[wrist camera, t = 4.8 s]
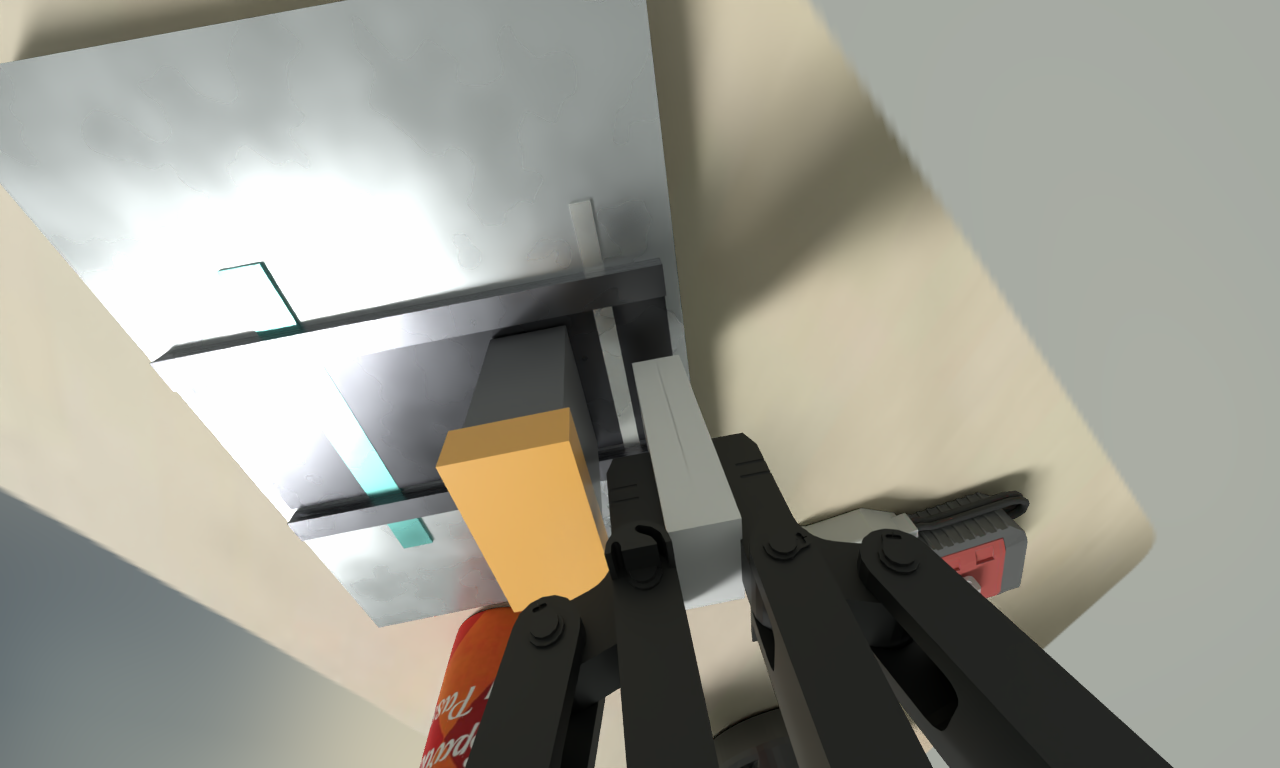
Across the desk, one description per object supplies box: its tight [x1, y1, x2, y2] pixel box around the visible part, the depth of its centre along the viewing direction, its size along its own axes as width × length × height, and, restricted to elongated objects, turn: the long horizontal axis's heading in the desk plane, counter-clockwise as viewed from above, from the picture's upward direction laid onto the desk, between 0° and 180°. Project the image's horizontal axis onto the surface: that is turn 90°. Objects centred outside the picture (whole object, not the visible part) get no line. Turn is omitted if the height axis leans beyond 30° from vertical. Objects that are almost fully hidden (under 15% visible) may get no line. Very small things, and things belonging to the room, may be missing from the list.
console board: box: [0, 0, 691, 627], centre depth 17 cm, size 22×16×3 cm
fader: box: [436, 325, 609, 612], centre depth 14 cm, size 5×3×6 cm, turn 9°
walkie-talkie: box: [801, 491, 1029, 598], centre depth 26 cm, size 9×4×20 cm
